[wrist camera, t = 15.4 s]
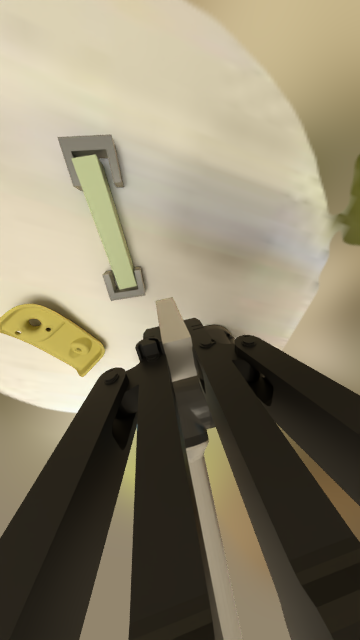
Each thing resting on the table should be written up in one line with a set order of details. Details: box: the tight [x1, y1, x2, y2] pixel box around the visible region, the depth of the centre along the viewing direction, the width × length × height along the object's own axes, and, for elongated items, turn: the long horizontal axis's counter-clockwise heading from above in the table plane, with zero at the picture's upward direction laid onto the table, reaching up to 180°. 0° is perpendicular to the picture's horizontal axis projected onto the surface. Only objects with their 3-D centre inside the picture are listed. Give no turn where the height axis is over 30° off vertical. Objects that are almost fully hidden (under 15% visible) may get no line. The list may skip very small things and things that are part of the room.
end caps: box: [58, 135, 145, 301], centre depth 32 cm, size 25×7×4 cm, turn 6°
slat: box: [71, 154, 137, 289], centre depth 31 cm, size 20×4×5 cm, turn 10°
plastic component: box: [0, 304, 105, 377], centre depth 39 cm, size 20×7×10 cm
